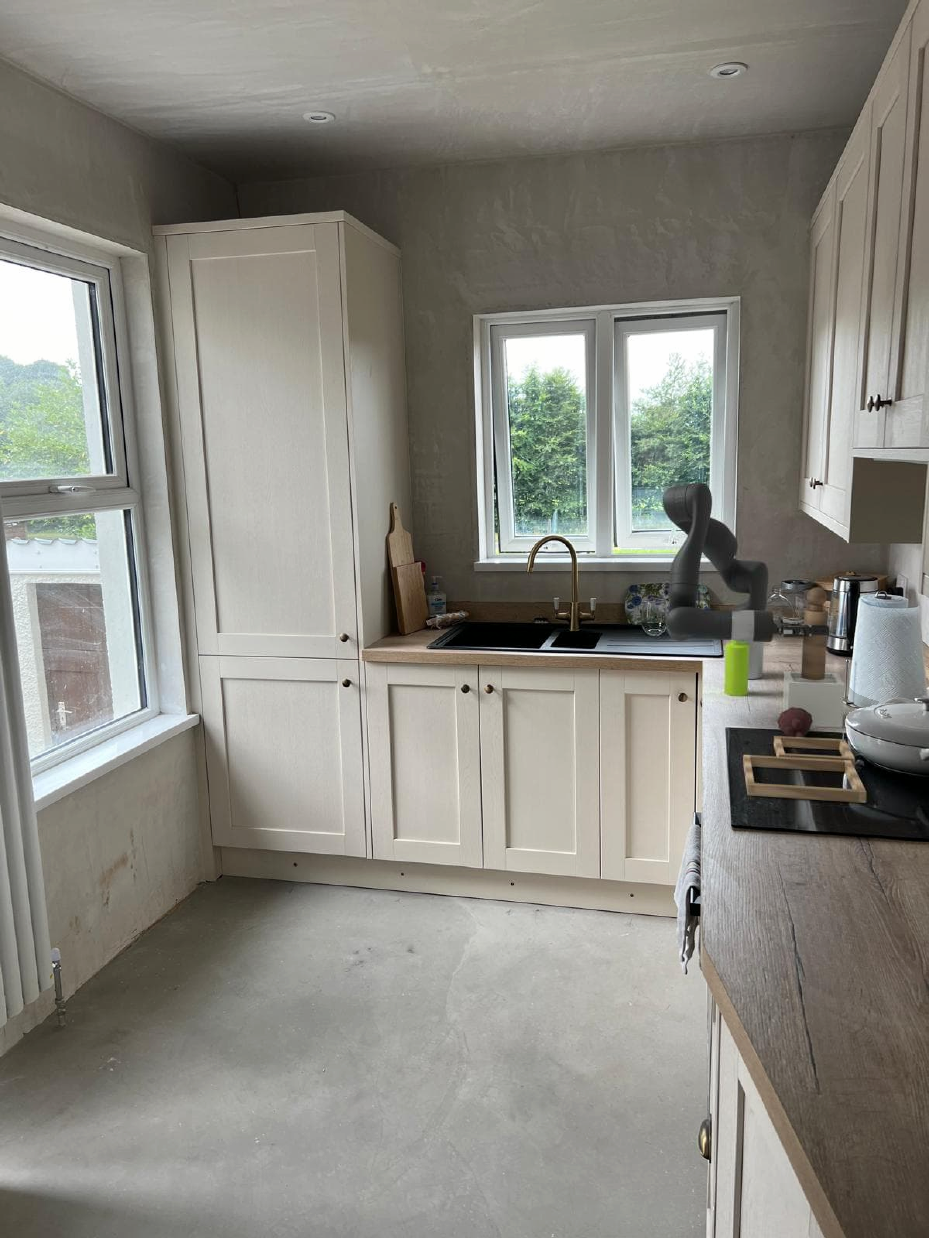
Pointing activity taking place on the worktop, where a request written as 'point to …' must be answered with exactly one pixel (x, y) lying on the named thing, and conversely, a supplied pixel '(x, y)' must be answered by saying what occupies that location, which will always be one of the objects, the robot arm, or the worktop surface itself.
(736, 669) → the soap dispenser
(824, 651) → the pepper mill
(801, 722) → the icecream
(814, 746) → the frame
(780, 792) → the frame
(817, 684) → the plinth
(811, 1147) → the worktop surface
